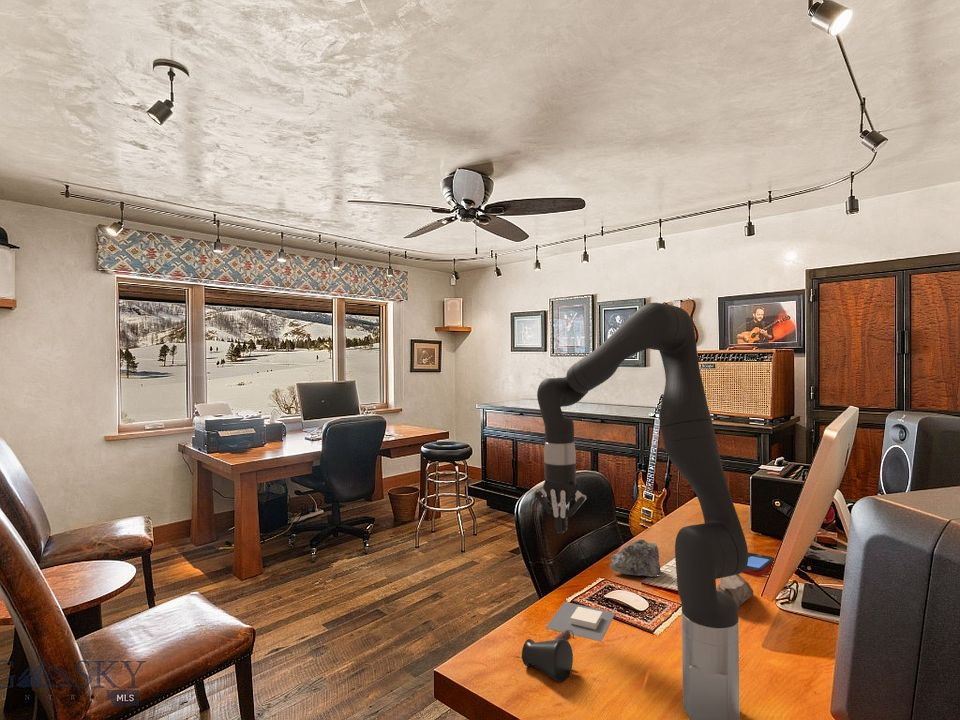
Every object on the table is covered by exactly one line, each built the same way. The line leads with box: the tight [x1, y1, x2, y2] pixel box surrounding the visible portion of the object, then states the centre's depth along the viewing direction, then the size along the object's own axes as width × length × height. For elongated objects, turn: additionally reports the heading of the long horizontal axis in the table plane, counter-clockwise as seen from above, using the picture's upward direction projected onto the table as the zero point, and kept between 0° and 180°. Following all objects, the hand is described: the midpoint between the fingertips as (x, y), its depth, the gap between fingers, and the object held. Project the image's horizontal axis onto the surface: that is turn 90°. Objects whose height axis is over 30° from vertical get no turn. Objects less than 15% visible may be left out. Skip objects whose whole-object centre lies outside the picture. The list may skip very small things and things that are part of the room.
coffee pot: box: [521, 630, 575, 683], centre depth 109 cm, size 8×18×8 cm
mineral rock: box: [609, 538, 662, 578], centre depth 151 cm, size 13×11×10 cm
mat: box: [545, 601, 616, 642], centre depth 124 cm, size 14×13×1 cm
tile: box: [570, 607, 603, 629], centre depth 123 cm, size 6×2×6 cm
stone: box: [716, 574, 754, 608], centre depth 132 cm, size 15×9×10 cm
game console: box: [741, 551, 776, 577], centre depth 156 cm, size 14×13×2 cm
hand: (561, 532), depth 125 cm, fingers closed
